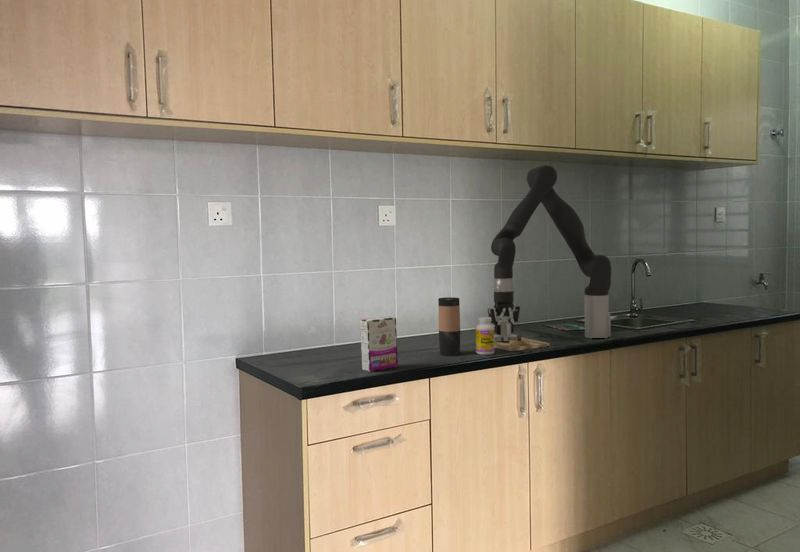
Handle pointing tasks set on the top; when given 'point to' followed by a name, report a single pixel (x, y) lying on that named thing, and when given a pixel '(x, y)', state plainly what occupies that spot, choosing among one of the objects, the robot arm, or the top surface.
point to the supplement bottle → (484, 336)
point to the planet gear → (505, 332)
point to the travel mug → (449, 326)
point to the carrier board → (514, 348)
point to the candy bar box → (379, 343)
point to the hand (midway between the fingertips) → (504, 333)
